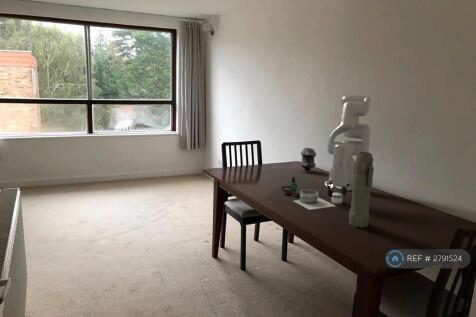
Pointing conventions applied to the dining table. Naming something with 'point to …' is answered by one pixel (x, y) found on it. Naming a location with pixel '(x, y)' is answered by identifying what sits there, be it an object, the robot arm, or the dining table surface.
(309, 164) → the apothecary jar
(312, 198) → the grey ring
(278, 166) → the dining table surface
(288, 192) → the binoculars
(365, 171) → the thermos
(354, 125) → the robot arm
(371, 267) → the dining table surface
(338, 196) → the cap
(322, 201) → the mat
